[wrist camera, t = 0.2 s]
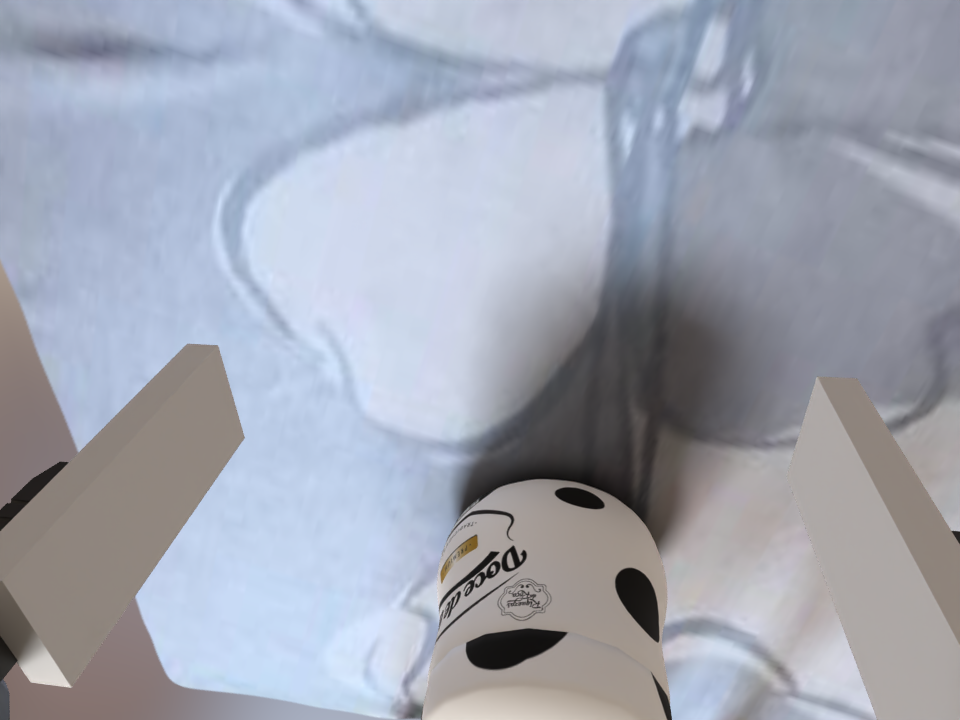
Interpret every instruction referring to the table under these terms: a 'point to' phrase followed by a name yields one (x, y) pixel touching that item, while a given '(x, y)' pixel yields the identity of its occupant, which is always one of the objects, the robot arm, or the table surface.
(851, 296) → the table surface
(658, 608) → the milk container
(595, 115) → the table surface
